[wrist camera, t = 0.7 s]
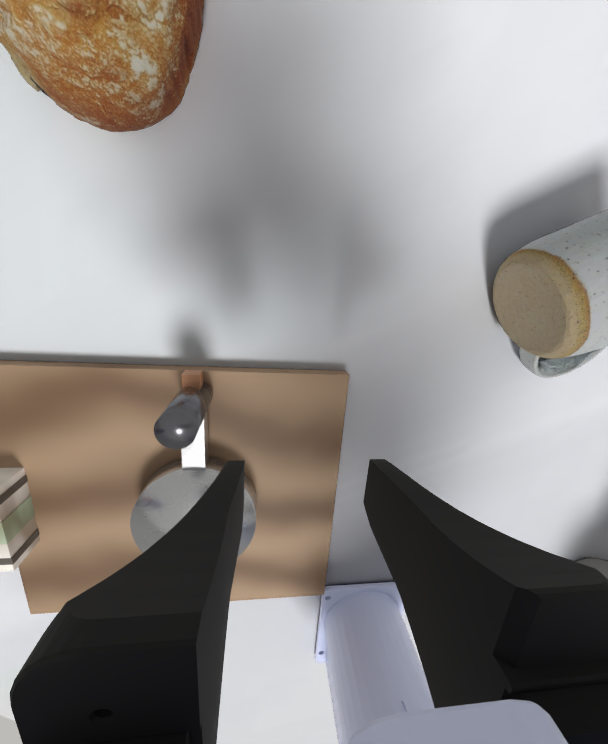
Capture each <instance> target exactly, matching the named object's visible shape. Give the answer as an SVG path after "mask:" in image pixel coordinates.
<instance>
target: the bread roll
mask: <svg viewBox="0 0 608 744" xmlns="http://www.w3.org/2000/svg"><path fill="white" fill-rule="evenodd" d="M203 7H204V0H0V43H2V44H3V46H4V47H5V48H6V50H7V51H8V52H9V54H10V55H11V59H12V60H13V62H14V64H15V65H16V67H17V69H18V71H19V72H20V74H21V76H22V77H23V78H24V79H25V80H26V82H27V83H28V84H30V85H31V86H32V87H33V88H34V89H35V90H37V91H40V90H42V92H43V93H45V94H46V95H47V96H49V97H50V98H51V99H52V100H53V101H54V102H55V103H56V104H57V105H58V106H59V107H60V108H62V109H63V110H65V111H67V112H68V113H70V114H71V115H73V116H74V117H75V118H77V119H78V120H81V121H85V122H88V123H89V124H91V125H93V126H96V127H98V128H100V129H104V130H107V131H111V132H124V131H137V130H140V129H144V128H147V127H150V126H152V125H154V124H156V123H158V122H159V121H161V120H162V119H164V118H165V117H167V116H168V115H170V114H171V113H172V112H173V111H174V110H175V109H176V108H177V106H178V105H179V104H180V102H181V100H182V97H183V96H184V92H185V88H186V86H187V84H188V83H189V74H190V73H191V70H192V68H193V65H194V61H195V56H196V53H197V49H198V46H199V40H200V35H201V30H202V13H203Z"/></svg>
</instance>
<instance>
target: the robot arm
mask: <svg viewBox="0 0 608 744" xmlns="http://www.w3.org/2000/svg"><path fill="white" fill-rule="evenodd" d="M244 465H245V460H234V461H227V462H226V463H225V464H224V466H223V468H222V470H221V471H220V473H219V474H218V476H217V477H216V478H215V480H214V481H213V483H212V484H211V485H210V487H209V488H208V489H207V490H206V492H205V493H204V494H203V496H202V497H201V498H200V499H199V500H198V501H197V503H196V504H195V505H194V506H193V507H192V508H191V509H190V511H189V512H188V513H187V514H186V515H185V516H184V517H183V518H182V519H181V520H180V521H179V522H178V523H177V524H176V525H175V526H174V527H173V528H172V529H171V530H170V531H168V532H167V533H166V534H165V535H164V536H163V537H162V538H160V539H159V540H158V541H157V542H156V543H155V544H153V545H152V546H151V547H150V548H149V549H147V550H146V551H145V552H143V553H142V554H141V555H139V556H138V557H137V558H135V559H134V560H133V561H131V562H130V563H128V564H127V565H125V566H124V567H123V568H121V569H120V570H118V571H117V572H115V573H114V574H112V575H111V576H109V577H108V578H106V579H104V580H103V581H101V582H99V583H98V584H96V585H94V586H93V587H91V588H89V589H88V590H86V591H84V592H83V593H81V594H79V595H78V596H76V597H74V598H73V599H71V600H69V601H67V602H66V603H65V605H64V606H63V608H62V609H61V610H60V612H59V613H58V614H57V616H56V617H55V618H54V620H53V621H52V622H51V624H50V625H49V626H48V628H47V629H46V631H45V632H44V634H43V635H42V637H41V638H40V640H39V642H38V643H37V645H36V646H35V648H34V650H33V651H32V653H31V654H30V656H29V658H28V659H27V661H26V662H25V664H24V666H23V667H22V669H21V670H20V672H19V674H18V675H17V677H16V678H15V680H14V683H13V686H12V688H11V691H10V701H11V708H12V711H13V714H14V718H15V721H16V724H17V727H18V730H19V733H20V736H21V739H22V742H23V744H216V740H217V728H218V717H219V706H220V695H221V683H222V672H223V662H224V651H225V640H226V630H227V620H228V609H229V602H230V595H231V589H232V584H233V578H234V573H235V567H236V562H237V556H238V551H239V545H240V540H241V534H242V525H243V512H244ZM364 506H365V509H366V513H367V516H368V520H369V523H370V526H371V529H372V531H373V533H374V536H375V538H376V540H377V543H378V545H379V547H380V550H381V552H382V554H383V556H384V559H385V561H386V563H387V566H388V568H389V570H390V572H391V575H392V577H393V579H394V581H395V582H385V583H369V584H353V585H337V586H326V587H325V592H324V595H322V597H321V606H320V615H319V624H318V633H317V642H316V651H315V661H316V662H317V663H326V666H327V673H328V679H329V686H330V692H331V699H332V705H333V712H334V718H335V725H336V731H337V738H338V742H339V744H608V579H607V578H606V577H605V576H604V575H603V574H602V573H601V572H600V571H598V570H597V569H595V568H592V567H589V566H587V565H584V564H581V563H578V562H575V561H572V560H569V559H566V558H563V557H560V556H557V555H554V554H551V553H549V552H546V551H543V550H541V549H538V548H536V547H533V546H531V545H528V544H526V543H523V542H521V541H519V540H516V539H514V538H512V537H510V536H507V535H505V534H503V533H501V532H499V531H497V530H495V529H493V528H491V527H488V526H487V525H485V524H483V523H481V522H479V521H477V520H475V519H473V518H471V517H470V516H468V515H466V514H464V513H463V512H461V511H459V510H457V509H456V508H454V507H452V506H451V505H449V504H448V503H446V502H444V501H443V500H441V499H440V498H438V497H437V496H435V495H434V494H432V493H431V492H429V491H428V490H426V489H425V488H424V487H422V486H421V485H419V484H418V483H417V482H415V481H414V480H413V479H411V478H410V477H409V476H407V475H406V474H404V473H403V472H402V471H400V470H399V469H398V468H396V467H395V466H394V465H392V464H391V463H389V462H388V461H386V460H385V459H370V462H369V468H368V475H367V482H366V489H365V496H364ZM404 609H405V612H406V615H407V618H408V621H409V624H410V627H411V630H412V633H413V636H414V640H415V643H416V646H417V649H418V653H419V656H420V659H421V662H422V665H421V663H420V660H419V658H418V655H417V653H416V650H415V648H414V645H413V643H412V640H411V638H410V635H409V633H408V630H407V628H406V625H405V623H404V620H403V618H402V615H403V610H404ZM422 666H423V668H422ZM423 669H424V670H423Z"/></svg>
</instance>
